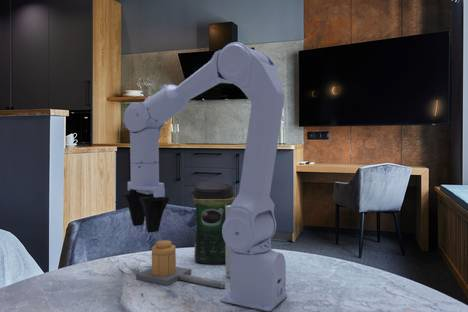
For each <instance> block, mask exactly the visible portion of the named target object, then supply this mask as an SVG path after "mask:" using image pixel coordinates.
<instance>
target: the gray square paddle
mask: <svg viewBox="0 0 468 312" xmlns="http://www.w3.org/2000/svg"><path fill="white" fill-rule="evenodd" d="M135 279H136V280H138V281H143V282H148V283H152V284H156V285H162V286H166V287H167V286H170V285H173V284H175V283H176V282H178V281H184V282H188V283H195V284H199V285H203V286H207V287H209V286H210V287H214V288H218V289H219V288H220V289H224V288H225V287H226V283H225V282H224V281H223V280H217V279H211V278H204V277H201V276H200V277H199V276H194V275H192V268H187V267H181V266H176V273H174V274H171V275H166V276H157V275H154V274H152V267H151V268H149V269H146V270H144V271H141V272H138V273H136V274H135Z"/></svg>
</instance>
